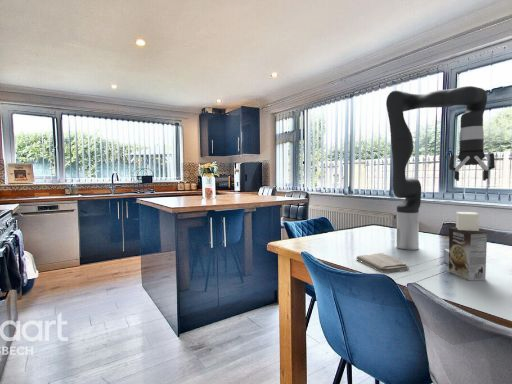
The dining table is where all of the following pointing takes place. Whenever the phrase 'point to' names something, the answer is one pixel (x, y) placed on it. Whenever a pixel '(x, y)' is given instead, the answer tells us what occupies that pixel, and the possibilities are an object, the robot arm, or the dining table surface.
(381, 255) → the washcloth
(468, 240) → the coffee box
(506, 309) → the dining table surface
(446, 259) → the slate block
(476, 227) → the cream cube
